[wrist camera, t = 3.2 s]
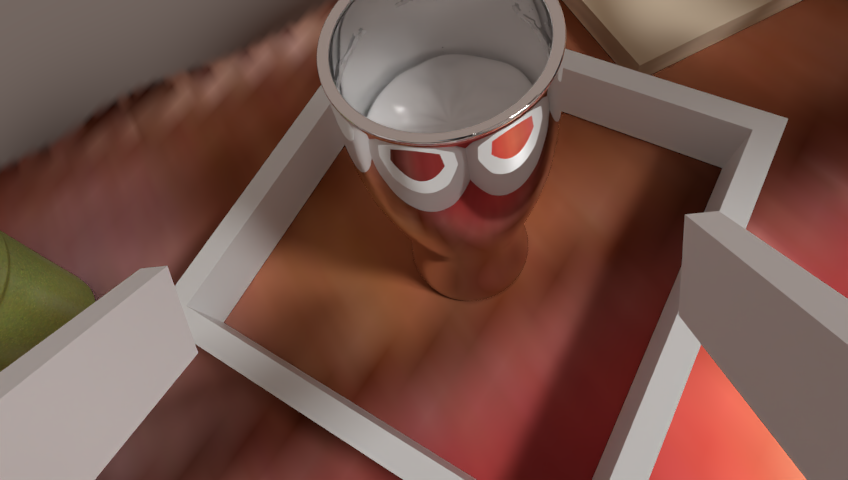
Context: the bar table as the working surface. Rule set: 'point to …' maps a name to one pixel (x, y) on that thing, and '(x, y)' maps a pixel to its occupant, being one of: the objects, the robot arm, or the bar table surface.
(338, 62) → the beer glass
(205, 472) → the bar table surface
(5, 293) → the plant pot
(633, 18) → the serving board
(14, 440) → the robot arm
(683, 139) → the grey square frame
